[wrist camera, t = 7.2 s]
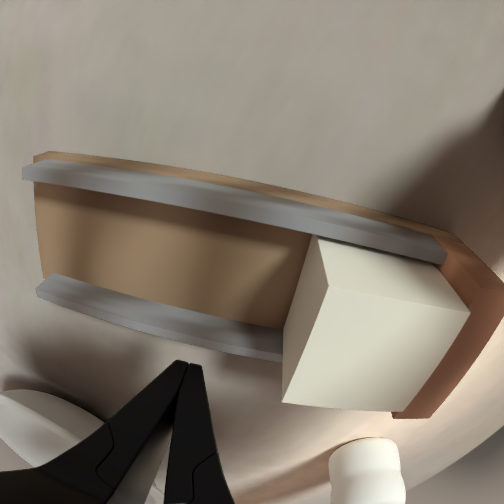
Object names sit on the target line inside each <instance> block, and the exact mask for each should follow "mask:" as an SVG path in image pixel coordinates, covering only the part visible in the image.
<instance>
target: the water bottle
mask: <svg viewBox="0 0 504 504" xmlns="http://www.w3.org/2000/svg"><path fill="white" fill-rule="evenodd" d="M329 476H330V482H331V487H332V490H331V504H405V500H406V499H405V498H406V494H405V486H404V482H403V479H402V476H401V473H400V459H399V453H398V449H397V446H396V444H395V443H394V442H393V441H391V440H389V439H386V438H380V437H371V438H364V439H359V440H356V441H352V442H350V443H347V444H345V445H343V446H341V447H340V448H338V449H337V450H336V451H334V452H333V454H332V455H331V456H330V458H329Z"/></svg>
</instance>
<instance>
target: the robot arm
mask: <svg viewBox="0 0 504 504" xmlns="http://www.w3.org/2000/svg"><path fill="white" fill-rule="evenodd" d="M108 422H109V423H108ZM108 422H107V421H106V422H105V423H104V424H103V425H102V426H101V427H99V428H98V429H97V430H96V431H94V432H93V433H92V434H91V435H89V436H88V437H87V438H85V439H84V440H82V441H81V442H79V443H78V444H76V445H75V446H73V447H72V448H70V449H68V450H67V451H65V452H64V453H62V454H60V455H59V456H57V457H56V458H54V459H52V460H51V461H49V462H47V463H45V464H43V465H41V466H38V467H35V468H30V469H22V470H13V471H3V472H0V504H145V501H146V499H147V496H148V494H149V491H150V489H151V486H152V484H153V481H154V479H155V476H156V474H157V471H158V469H159V466H160V464H161V461H162V459H163V456H164V454H165V451H166V449H167V446H168V444H169V441H170V439H171V444H170V452H169V459H168V467H167V476H166V484H165V493H164V502H163V504H235V502H234V500H233V498H232V495H231V493H230V491H229V488H228V485H227V483H226V480H225V477H224V474H223V470H222V466H221V462H220V458H219V453H218V449H217V444H216V439H215V435H214V430H213V425H212V419H211V414H210V409H209V404H208V398H207V393H206V387H205V381H204V376H203V370H202V366H201V365H198V364H193V363H190V364H189V363H188V362H185V361H181V360H175V361H174V362H173V363H172V364H171V365H170V366H169V367H167V368H166V369H165V370H164V371H163V372H162V373H161V374H160V375H159V376H157V377H156V378H155V379H154V380H153V381H152V382H151V383H150V384H149V385H147V386H146V387H145V388H144V389H143V390H142V391H141V392H140V393H138V394H137V395H136V396H135V397H134V398H133V399H132V400H130V401H129V402H128V403H127V404H126V405H125V406H124V407H123V408H121V409H120V410H119V411H118V412H117V413H116V414H115V415H113V416H112V417H111V418H110V419H109V420H108ZM171 436H172V437H171Z"/></svg>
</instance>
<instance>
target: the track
mask: <svg viewBox="0 0 504 504" xmlns="http://www.w3.org/2000/svg"><path fill="white" fill-rule="evenodd" d="M22 179H23V180H30V181H34V200H35V214H36V226H37V236H38V244H39V252H40V259H41V266H42V272H43V278H46V279H45V280H44V281H43V282H42V283H41V284H40V285H39V286H38V287H37V288H35V289H36V294H37V297H39V298H42V299H44V300H47V301H50V302H52V303H55V304H58V305H61V306H63V307H66V308H69V309H72V310H75V311H78V312H81V313H84V314H86V315H89V316H93V317H96V318H99V319H102V320H105V321H108V322H111V323H115V324H118V325H121V326H124V327H128V328H131V329H135V330H138V331H142V332H145V333H149V334H152V335H156V336H160V337H164V338H167V339H171V340H175V341H179V342H183V343H187V344H191V345H195V346H200V347H204V348H208V349H213V350H217V351H222V352H227V353H231V354H236V355H241V356H246V357H251V358H256V359H262V360H267V361H273V362H279V363H283V329H284V325H285V322H286V319H287V316H288V313H289V310H290V307H291V304H292V301H293V297H294V294H295V291H296V288H297V285H298V281H299V278H300V275H301V272H302V268H303V265H304V262H305V258H306V255H307V251H308V248H309V245H310V241H311V238H312V234H315V235H320V236H324V237H328V238H333V239H337V240H342V241H346V242H350V243H354V244H359V245H363V246H367V247H371V248H375V249H380V250H384V251H388V252H392V253H396V254H400V255H404V256H408V257H412V258H416V259H420V260H424V261H428V262H432V263H433V264H434V265H435V266H436V267H437V269H438V270H439V271H440V272H441V274H442V275H443V276H444V277H445V279H446V280H447V281H448V283H449V284H450V285H451V286H452V288H453V289H454V290H455V292H456V293H457V294H458V296H459V297H460V298H461V300H462V301H463V303H464V304H465V305H466V307H467V308H468V309H469V311H470V312H471V313H470V315H469V317H468V318H467V320H466V322H465V324H464V325H463V327H462V329H461V330H460V332H459V334H458V335H457V337H456V338H455V340H454V342H453V343H452V345H451V346H450V348H449V349H448V351H447V353H446V354H445V356H444V357H443V359H442V360H441V361H440V363H439V364H438V366H437V367H436V369H435V370H434V372H433V373H432V374H431V376H430V377H429V379H428V380H427V381H426V383H425V384H424V385H423V387H422V388H421V389H420V391H419V392H418V393H417V395H416V396H415V397H414V398H413V400H412V401H411V402H410V403H409V405H408V406H407V407H406V408H405V410H404V411H403V412H391V413H392V417H393V419H423V418H430V417H431V416H432V414H433V413H434V412H435V411H436V410H437V409H438V408H439V406H440V405H441V404H442V403H443V402H444V401H445V399H446V398H447V397H448V396H449V394H450V393H451V392H452V391H453V389H454V388H455V387H456V386H457V384H458V383H459V382H460V380H461V379H462V378H463V377H464V375H465V374H466V373H467V371H468V370H469V368H470V367H471V366H472V364H473V363H474V361H475V360H476V359H477V357H478V356H479V354H480V353H481V351H482V350H483V348H484V347H485V345H486V344H487V342H488V341H489V339H490V338H491V336H492V335H493V333H494V331H495V330H496V328H497V326H498V325H499V323H500V321H501V320H502V318H503V316H504V283H503V282H502V280H501V279H500V278H499V277H498V276H497V275H496V274H495V273H494V272H493V271H492V270H491V269H490V268H489V267H488V266H487V265H486V264H485V263H484V262H483V261H482V260H481V259H480V258H479V257H478V256H477V255H476V254H475V253H474V252H473V251H471V250H470V249H469V248H468V247H467V246H466V245H465V244H464V243H463V242H462V241H461V240H460V239H459V238H458V237H456V236H455V235H454V234H452V233H449V232H446V231H443V230H440V229H437V228H434V227H430V226H427V225H424V224H421V223H417V222H414V221H410V220H407V219H404V218H400V217H397V216H393V215H390V214H386V213H383V212H379V211H375V210H372V209H368V208H364V207H360V206H357V205H353V204H349V203H345V202H341V201H337V200H333V199H329V198H325V197H321V196H317V195H312V194H308V193H304V192H300V191H295V190H291V189H286V188H282V187H277V186H273V185H268V184H263V183H258V182H254V181H249V180H244V179H239V178H233V177H228V176H223V175H218V174H212V173H207V172H201V171H195V170H189V169H183V168H177V167H171V166H165V165H158V164H152V163H145V162H138V161H131V160H123V159H116V158H108V157H99V156H91V155H82V154H72V153H62V152H51V151H49V152H45V153H42V154H39V155H36V156H33V164H31V165H28V166H26V167H23V168H22Z"/></svg>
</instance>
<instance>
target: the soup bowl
mask: <svg viewBox="0 0 504 504" xmlns="http://www.w3.org/2000/svg"><path fill="white" fill-rule="evenodd" d="M103 424H104V422H103V421H101V420H100V419H98V418H97V417H95V416H94V415H92V414H90V413H89V412H87V411H85V410H84V409H82V408H80V407H78V406H76V405H74V404H72V403H70V402H68V401H66V400H64V399H61V398H59V397H56V396H54V395H51V394H47V393H44V392H40V391H34V390H25V389H16V390H8V391H4V392H1V393H0V438H1V439H2V440H3V441H4V442H5V443H6V444H7V445H8V446H9V447H10V448H12V449H13V450H14V451H15V452H16V453H17V454H18V455H20V456H21V457H22V458H23V459H24V460H26V461H27V462H28V463H29V464H31V465H32V466H34V467H38V466H41V465H43V464H45V463H47V462H49V461H51V460H52V459H54V458H56V457H57V456H59V455H60V454H62V453H64V452H65V451H67V450H68V449H70V448H72V447H73V446H75V445H76V444H78V443H79V442H81V441H82V440H84V439H85V438H87V437H88V436H89V435H91V434H92V433H93V432H94V431H96V430H97V429H98V428H99V427H101V426H102V425H103ZM163 502H164V493H163V492H162V491H161V490H160V489H159V488H157V487H156V484H155V481H153V484H152V486H151V489H150V491H149V494H148V496H147V499H146V501H145V504H163Z"/></svg>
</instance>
